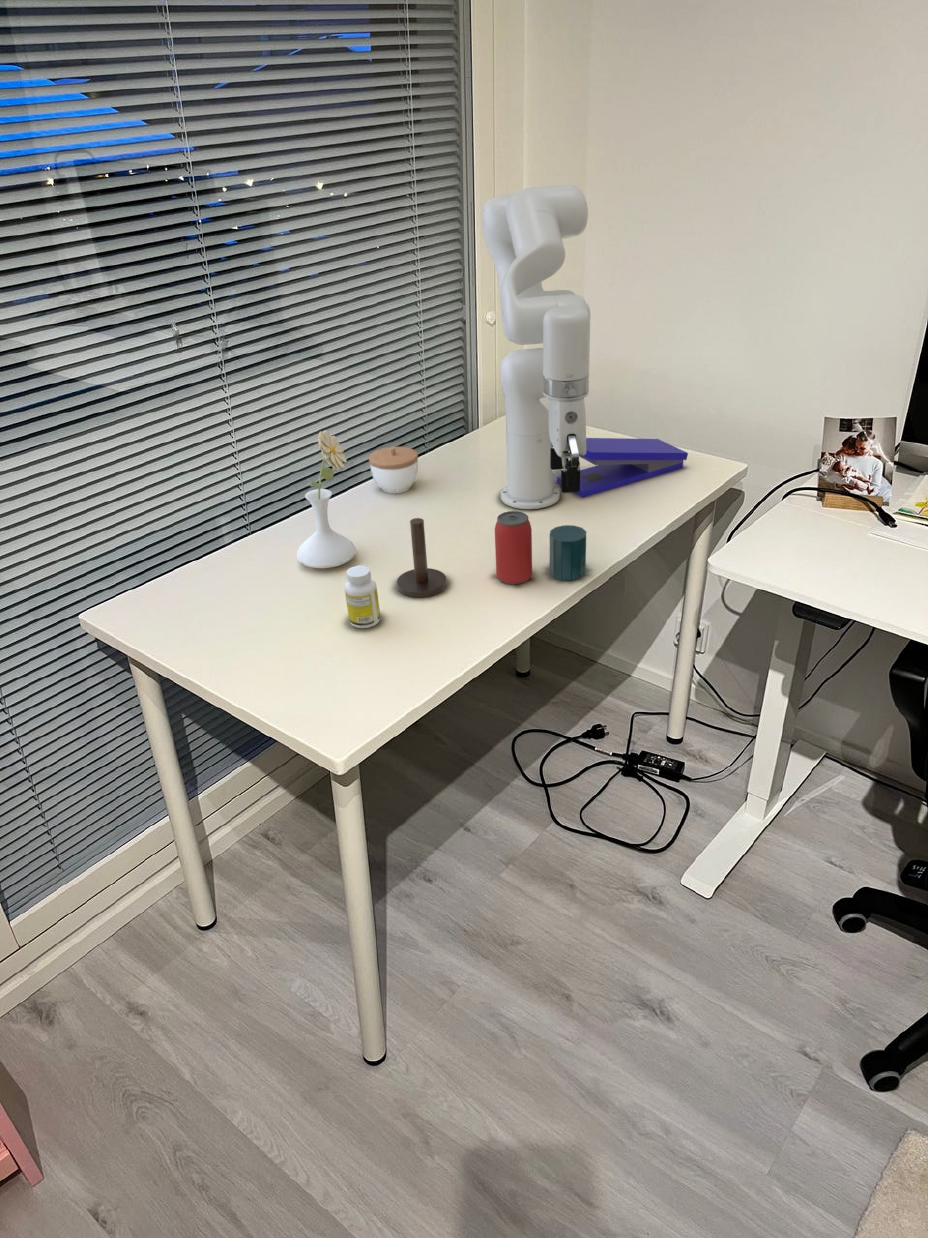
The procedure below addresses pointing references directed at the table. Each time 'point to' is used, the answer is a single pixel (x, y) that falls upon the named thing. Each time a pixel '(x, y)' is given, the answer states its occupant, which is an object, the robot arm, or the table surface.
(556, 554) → the teal wooden cylinder
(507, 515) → the beer can
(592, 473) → the stapler
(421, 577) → the holder
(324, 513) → the flower in vase
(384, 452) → the trinket box
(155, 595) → the table surface
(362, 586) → the supplement bottle
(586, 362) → the robot arm
